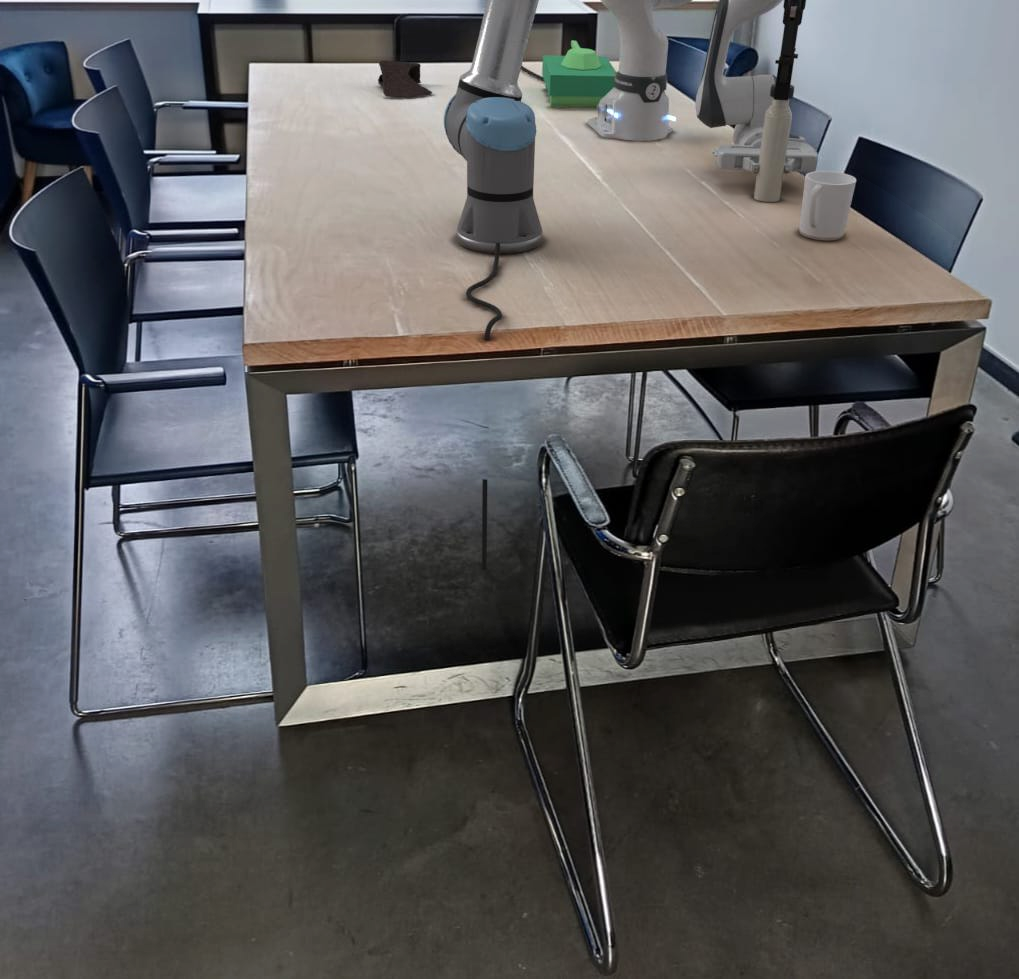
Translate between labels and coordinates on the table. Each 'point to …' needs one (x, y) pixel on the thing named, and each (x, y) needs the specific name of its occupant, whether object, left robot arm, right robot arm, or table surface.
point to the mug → (826, 204)
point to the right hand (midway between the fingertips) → (772, 169)
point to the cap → (789, 91)
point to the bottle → (773, 151)
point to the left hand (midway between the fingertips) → (781, 96)
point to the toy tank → (577, 77)
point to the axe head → (401, 79)
